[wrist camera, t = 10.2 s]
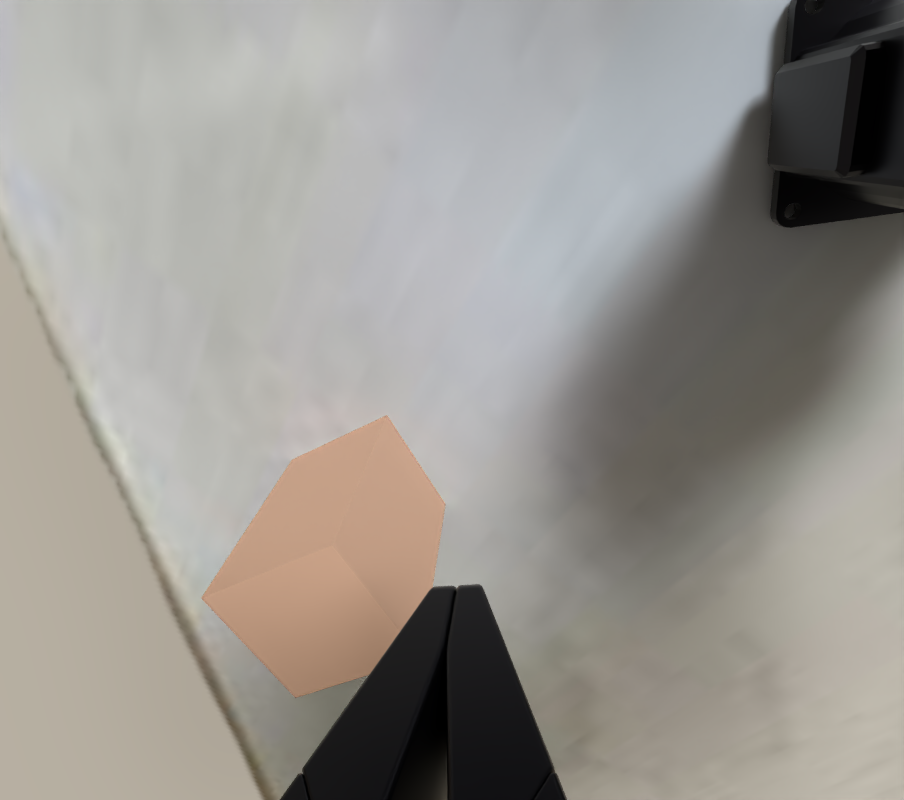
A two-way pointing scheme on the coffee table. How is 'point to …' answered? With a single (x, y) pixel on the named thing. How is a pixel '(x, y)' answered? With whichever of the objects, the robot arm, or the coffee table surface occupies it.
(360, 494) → the terracotta block
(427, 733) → the robot arm
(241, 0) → the coffee table surface
